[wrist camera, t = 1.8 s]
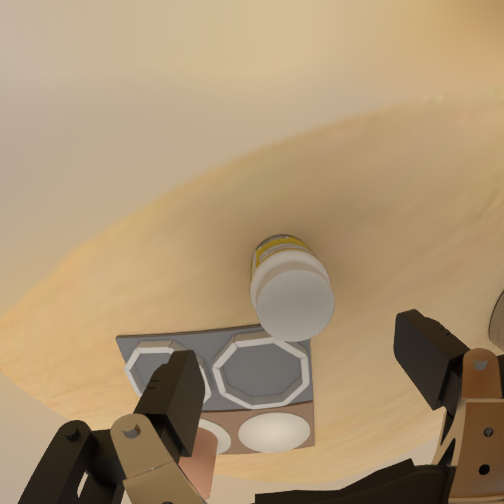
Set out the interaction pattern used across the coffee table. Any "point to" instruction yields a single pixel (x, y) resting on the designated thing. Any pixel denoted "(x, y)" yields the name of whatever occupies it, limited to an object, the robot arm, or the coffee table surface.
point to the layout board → (235, 391)
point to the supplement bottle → (290, 289)
